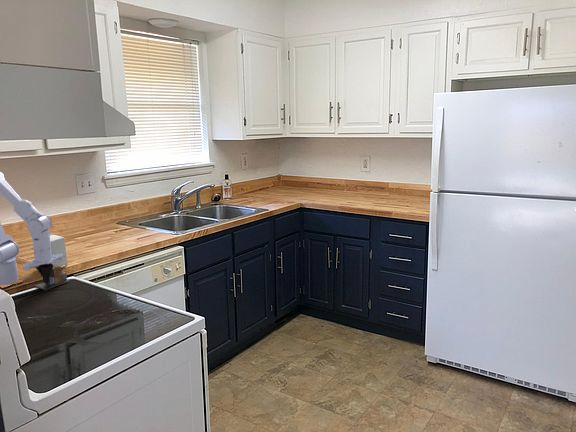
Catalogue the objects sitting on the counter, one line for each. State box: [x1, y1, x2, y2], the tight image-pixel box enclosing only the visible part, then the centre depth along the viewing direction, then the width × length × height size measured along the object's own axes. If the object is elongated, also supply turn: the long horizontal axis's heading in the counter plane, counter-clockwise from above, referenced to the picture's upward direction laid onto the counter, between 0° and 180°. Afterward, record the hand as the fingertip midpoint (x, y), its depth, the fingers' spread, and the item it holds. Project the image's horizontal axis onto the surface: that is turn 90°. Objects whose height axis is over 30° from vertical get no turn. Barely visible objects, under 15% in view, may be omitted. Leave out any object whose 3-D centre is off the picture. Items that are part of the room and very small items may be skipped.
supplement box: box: [50, 234, 68, 266], centre depth 190 cm, size 7×7×13 cm
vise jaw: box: [47, 276, 54, 285], centre depth 173 cm, size 4×2×3 cm, turn 59°
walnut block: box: [50, 264, 63, 284], centre depth 175 cm, size 3×4×6 cm
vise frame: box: [34, 271, 71, 291], centre depth 174 cm, size 6×10×3 cm, turn 149°
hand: (46, 282), depth 172 cm, fingers closed
